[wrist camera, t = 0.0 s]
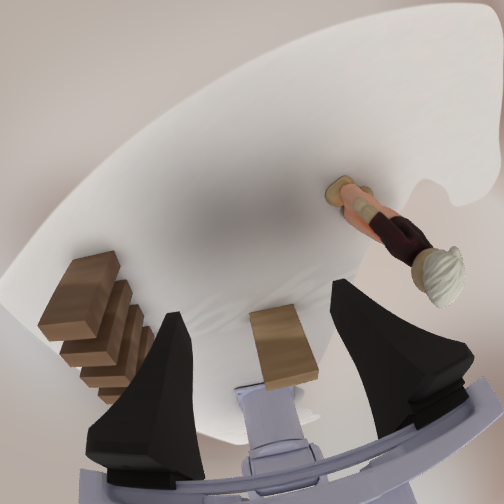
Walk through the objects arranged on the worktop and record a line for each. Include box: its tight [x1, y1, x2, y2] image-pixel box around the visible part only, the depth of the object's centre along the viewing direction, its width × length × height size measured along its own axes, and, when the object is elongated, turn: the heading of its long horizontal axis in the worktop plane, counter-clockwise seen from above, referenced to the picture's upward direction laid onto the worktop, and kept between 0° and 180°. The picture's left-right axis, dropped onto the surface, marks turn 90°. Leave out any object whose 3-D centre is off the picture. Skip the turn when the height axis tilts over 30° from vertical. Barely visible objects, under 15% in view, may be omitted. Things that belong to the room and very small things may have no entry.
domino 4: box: [98, 326, 154, 404], centre depth 23 cm, size 2×4×8 cm, turn 96°
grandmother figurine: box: [325, 176, 465, 308], centre depth 16 cm, size 8×4×13 cm, turn 74°
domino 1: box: [37, 251, 120, 341], centre depth 18 cm, size 2×4×8 cm, turn 96°
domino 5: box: [249, 304, 319, 391], centre depth 24 cm, size 2×4×8 cm, turn 97°
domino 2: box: [60, 280, 133, 367], centre depth 19 cm, size 2×4×8 cm, turn 97°
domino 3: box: [80, 305, 144, 388], centre depth 21 cm, size 2×4×8 cm, turn 97°
